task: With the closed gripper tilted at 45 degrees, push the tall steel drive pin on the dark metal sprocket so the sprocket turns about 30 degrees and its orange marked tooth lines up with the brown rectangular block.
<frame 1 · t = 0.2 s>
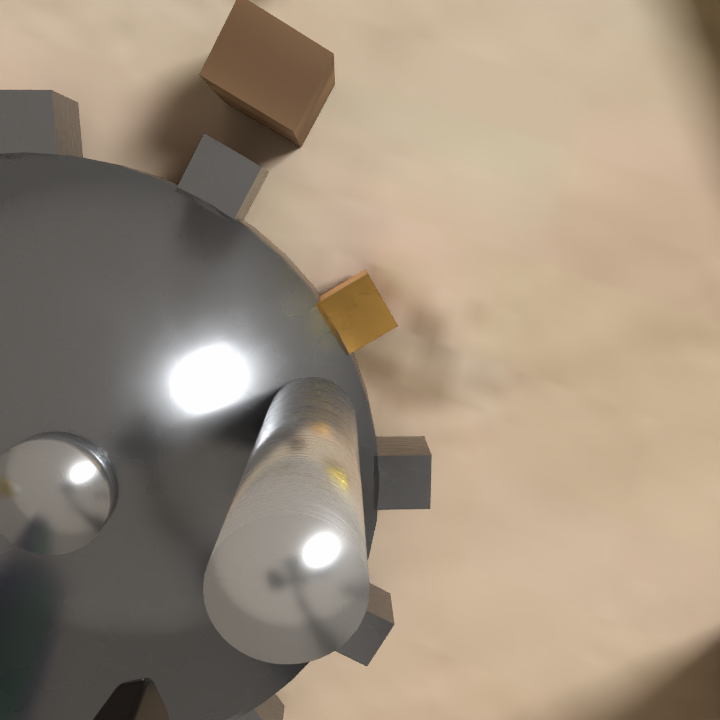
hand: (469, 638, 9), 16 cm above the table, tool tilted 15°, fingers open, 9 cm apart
brown rectangular block: (279, 92, 22), on the table
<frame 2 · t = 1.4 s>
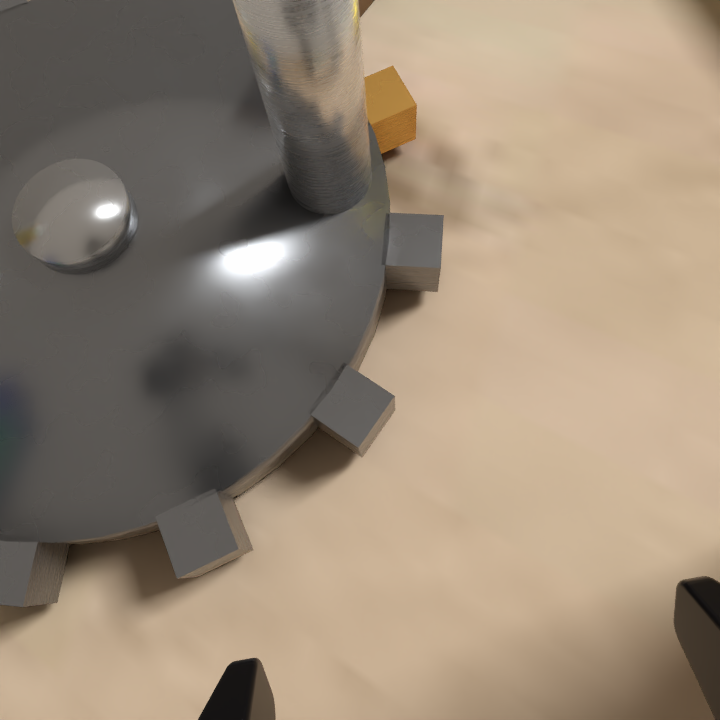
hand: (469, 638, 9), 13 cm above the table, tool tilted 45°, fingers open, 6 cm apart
sprocket: (15, 152, 19), point 7 cm above the table, hinge at 0.0°
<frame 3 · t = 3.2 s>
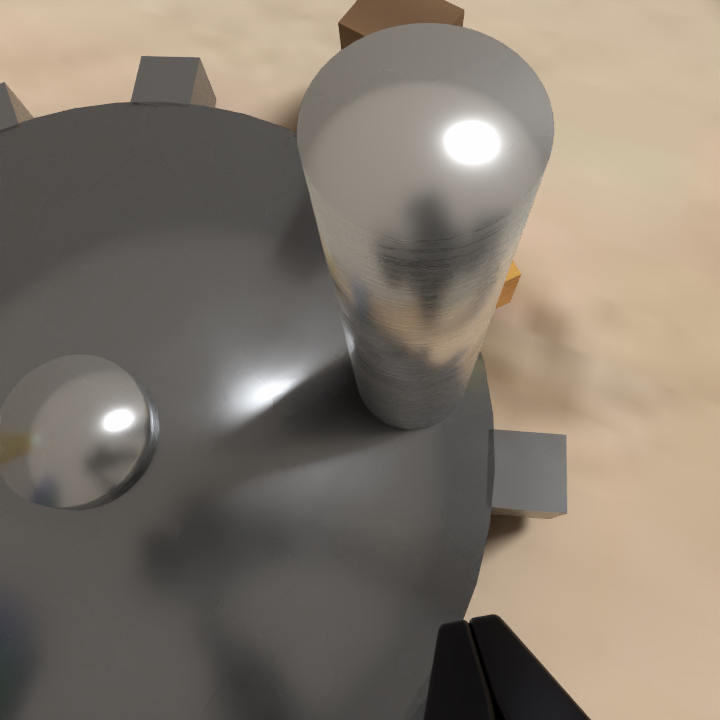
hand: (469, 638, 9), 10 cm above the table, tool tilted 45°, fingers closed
brown rectangular block: (401, 106, 23), on the table
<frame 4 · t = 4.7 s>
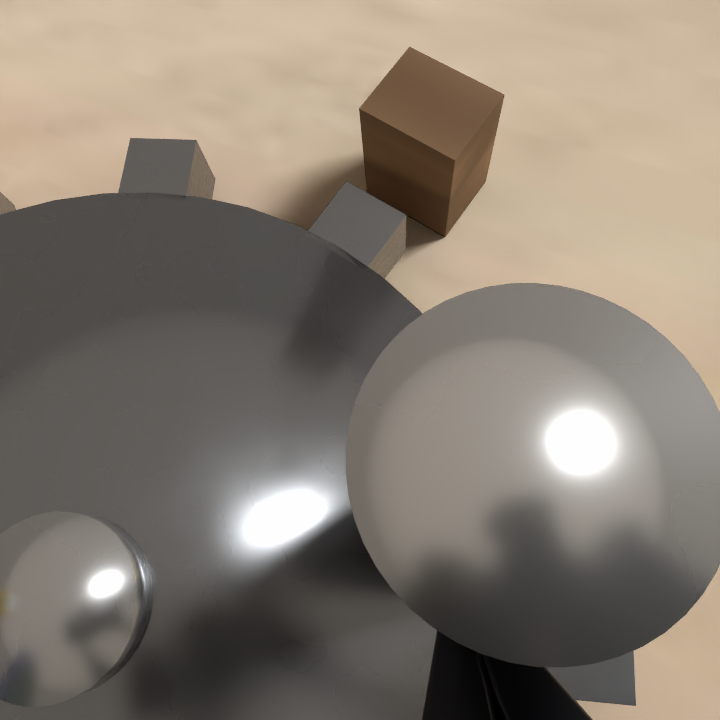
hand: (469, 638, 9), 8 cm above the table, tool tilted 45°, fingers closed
brown rectangular block: (426, 186, 21), on the table
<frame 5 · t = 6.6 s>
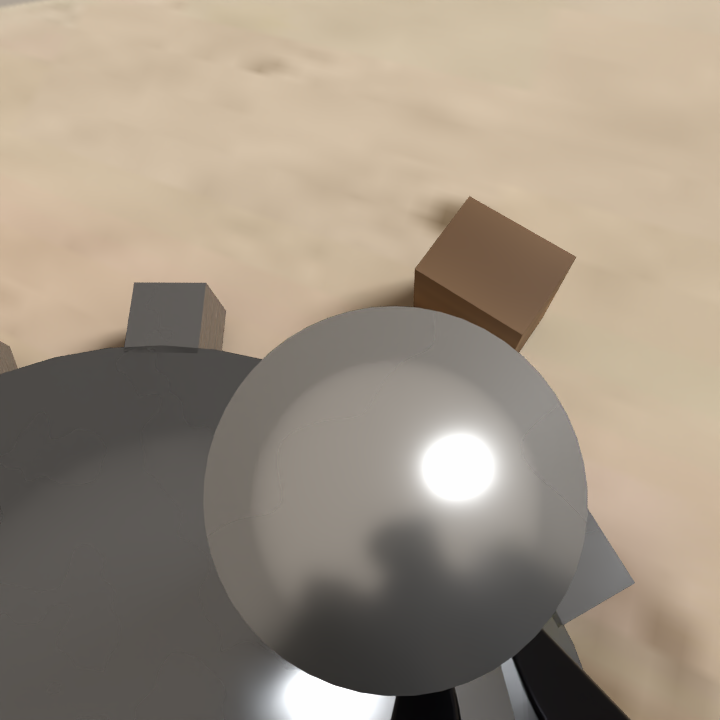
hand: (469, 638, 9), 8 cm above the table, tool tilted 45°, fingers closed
brown rectangular block: (477, 322, 19), on the table
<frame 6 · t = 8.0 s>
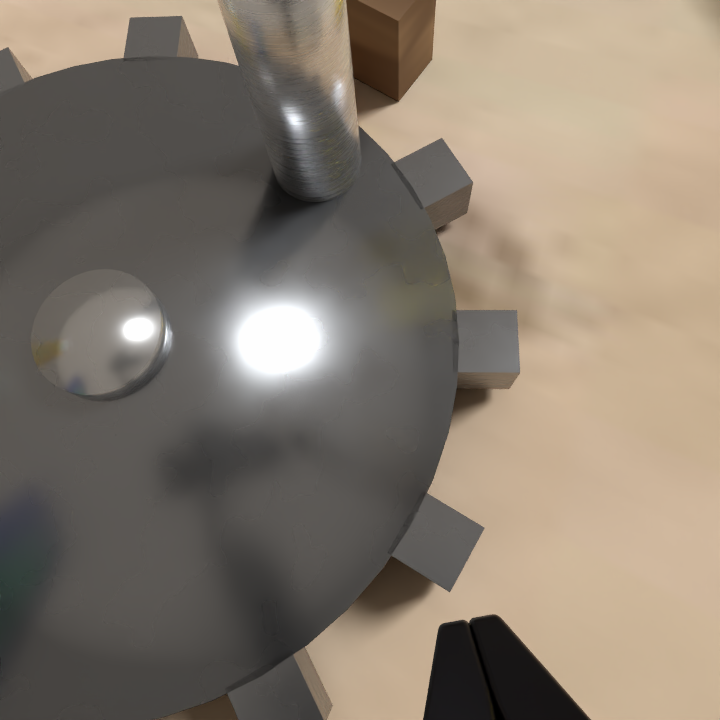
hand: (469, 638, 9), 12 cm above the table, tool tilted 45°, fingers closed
sprocket: (38, 287, 16), point 7 cm above the table, hinge at 33.8°
brown rectangular block: (384, 63, 26), on the table
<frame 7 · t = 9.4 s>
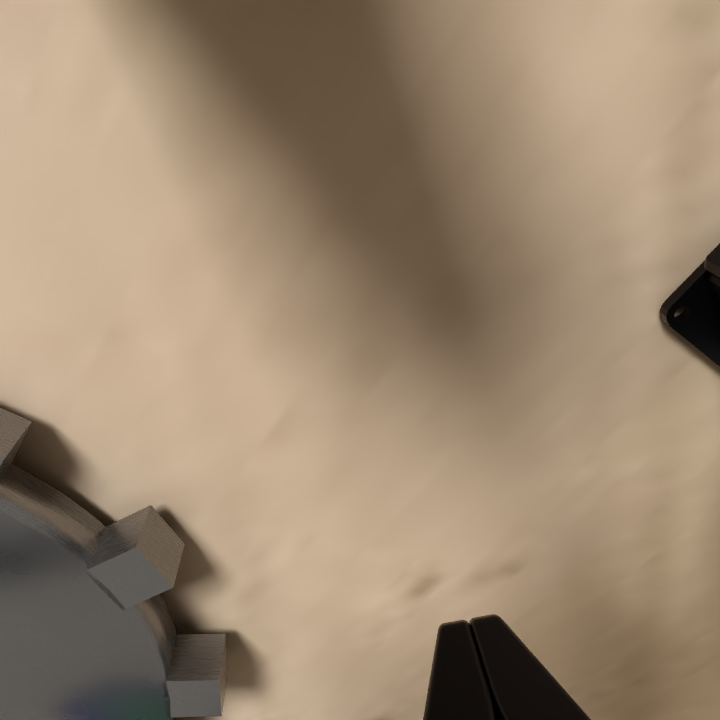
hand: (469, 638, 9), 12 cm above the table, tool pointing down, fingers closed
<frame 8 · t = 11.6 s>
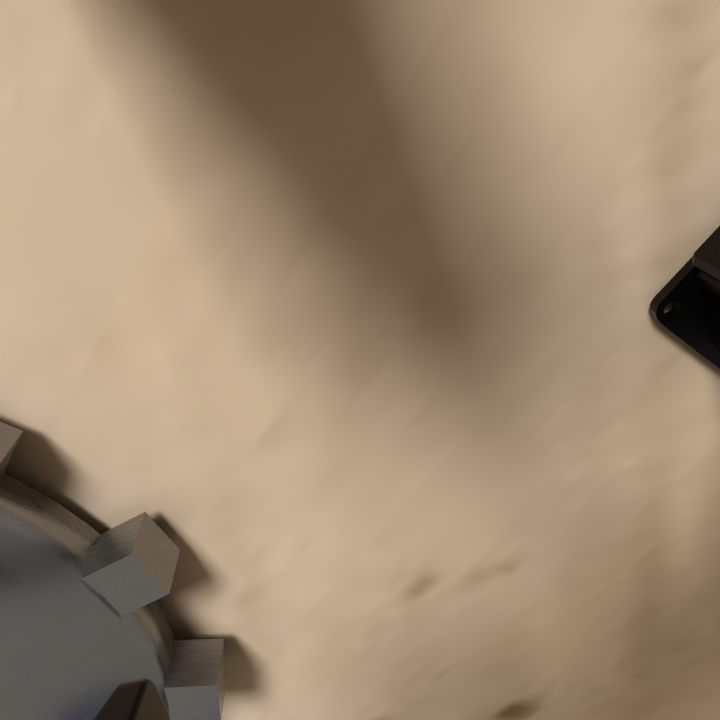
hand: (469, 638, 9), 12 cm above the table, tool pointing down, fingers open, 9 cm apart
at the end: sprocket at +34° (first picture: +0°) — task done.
